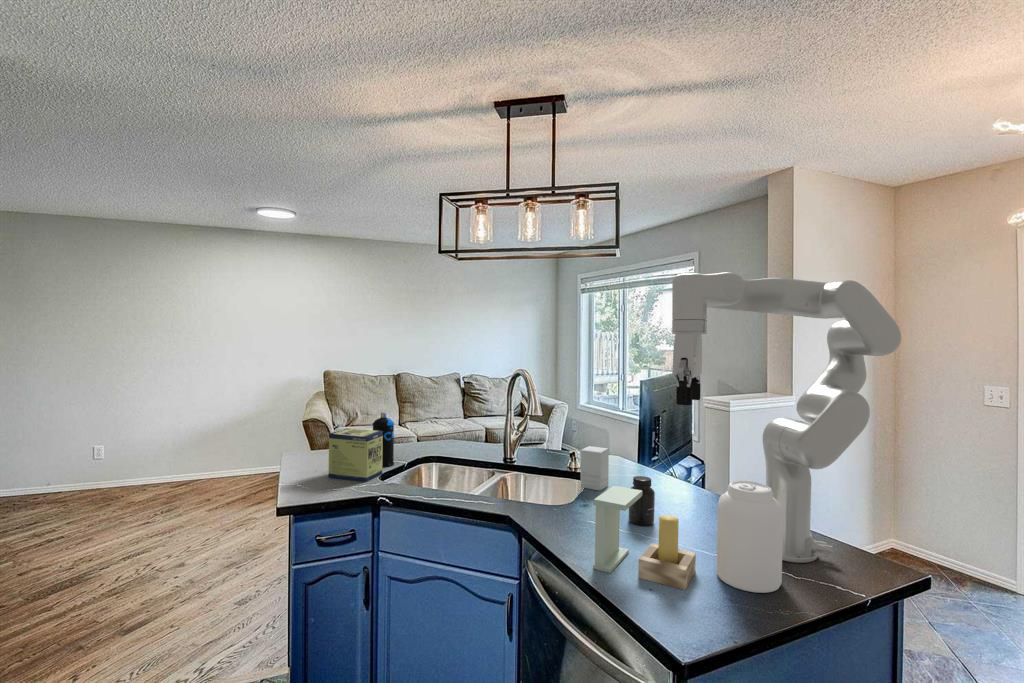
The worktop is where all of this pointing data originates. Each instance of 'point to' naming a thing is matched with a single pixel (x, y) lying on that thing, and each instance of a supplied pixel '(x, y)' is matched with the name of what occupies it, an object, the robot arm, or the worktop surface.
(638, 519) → the supplement bottle
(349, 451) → the protein box
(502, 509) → the worktop surface
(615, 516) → the pale green stand
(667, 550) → the peg
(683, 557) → the socket block
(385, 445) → the black bottle
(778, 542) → the can
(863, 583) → the worktop surface
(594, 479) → the supplement box
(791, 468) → the robot arm
